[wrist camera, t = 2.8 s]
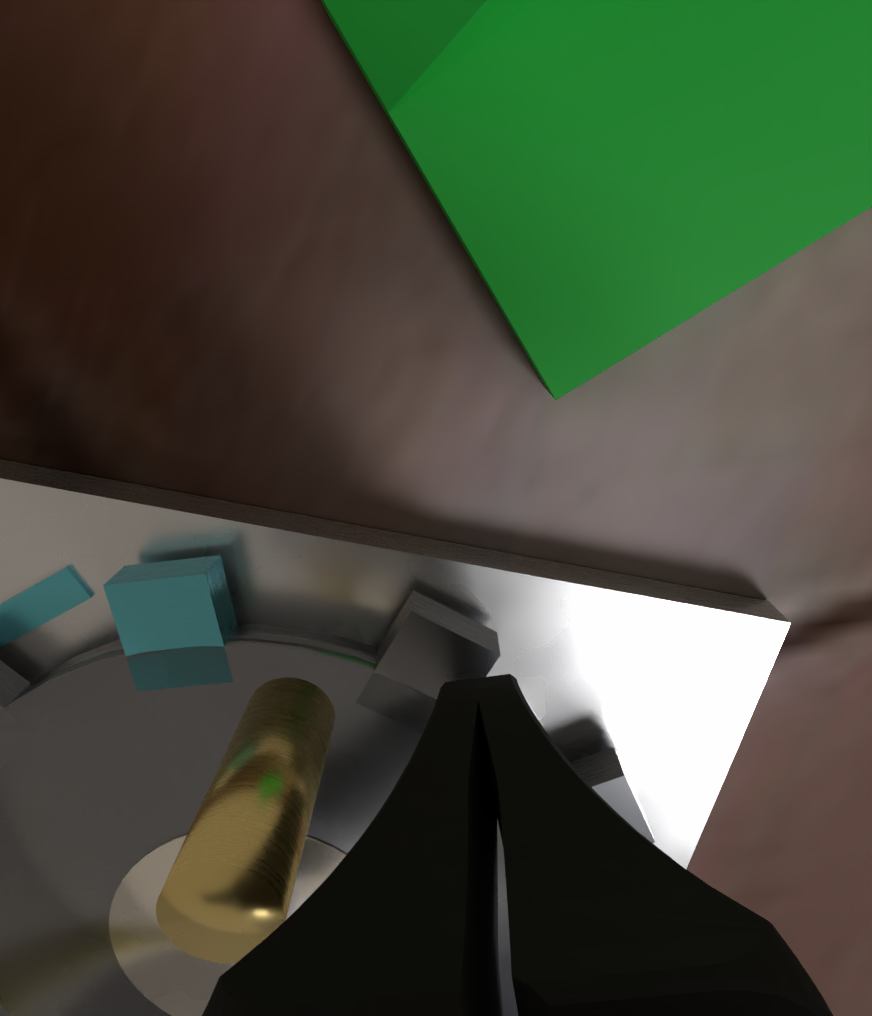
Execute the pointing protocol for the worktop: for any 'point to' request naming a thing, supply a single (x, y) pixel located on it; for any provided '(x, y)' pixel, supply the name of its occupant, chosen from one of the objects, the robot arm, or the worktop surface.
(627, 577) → the base plate
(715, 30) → the bracket
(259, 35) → the worktop surface
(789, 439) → the worktop surface
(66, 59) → the worktop surface
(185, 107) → the worktop surface
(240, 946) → the sprocket
